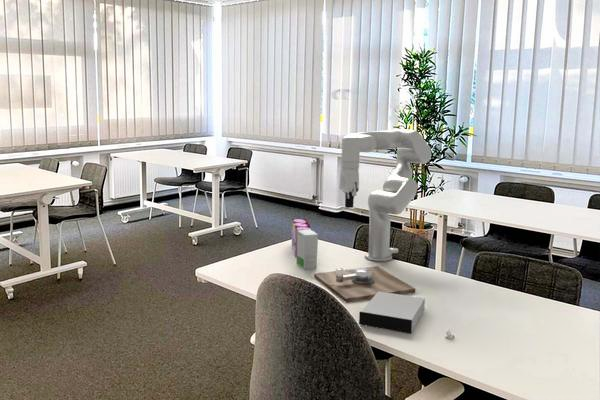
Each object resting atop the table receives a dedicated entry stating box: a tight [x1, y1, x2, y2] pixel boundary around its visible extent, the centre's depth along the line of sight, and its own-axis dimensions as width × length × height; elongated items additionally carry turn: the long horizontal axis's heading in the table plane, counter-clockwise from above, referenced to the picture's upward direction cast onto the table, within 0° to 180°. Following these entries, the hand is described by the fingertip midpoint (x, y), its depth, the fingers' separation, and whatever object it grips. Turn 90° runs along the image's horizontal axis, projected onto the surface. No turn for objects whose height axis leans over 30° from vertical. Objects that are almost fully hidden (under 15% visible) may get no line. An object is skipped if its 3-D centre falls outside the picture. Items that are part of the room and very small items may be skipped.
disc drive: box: [358, 291, 426, 335], centre depth 199 cm, size 18×22×5 cm
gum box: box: [291, 217, 313, 257], centre depth 277 cm, size 24×8×14 cm, turn 6°
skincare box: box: [296, 229, 319, 270], centre depth 253 cm, size 8×7×16 cm
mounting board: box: [313, 265, 416, 303], centre depth 231 cm, size 30×30×2 cm
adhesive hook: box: [444, 328, 455, 340], centre depth 183 cm, size 3×3×3 cm
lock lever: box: [335, 267, 372, 283], centre depth 228 cm, size 16×9×5 cm, turn 117°
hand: (349, 207), depth 247 cm, fingers closed
